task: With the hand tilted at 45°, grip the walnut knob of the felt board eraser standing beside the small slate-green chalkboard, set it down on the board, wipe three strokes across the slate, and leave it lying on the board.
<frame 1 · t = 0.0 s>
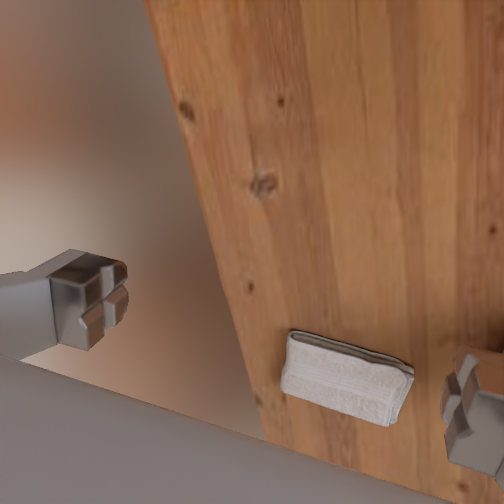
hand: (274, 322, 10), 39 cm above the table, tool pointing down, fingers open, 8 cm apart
washcloth: (343, 371, 61), on the table
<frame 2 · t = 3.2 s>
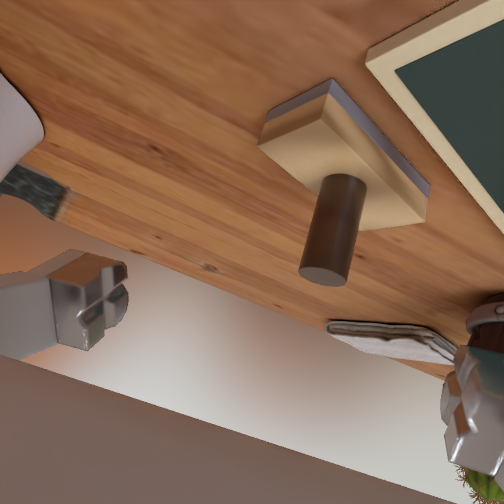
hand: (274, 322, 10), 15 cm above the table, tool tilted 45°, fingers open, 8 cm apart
eraser: (353, 149, 27), on the table
washcloth: (392, 332, 65), on the table
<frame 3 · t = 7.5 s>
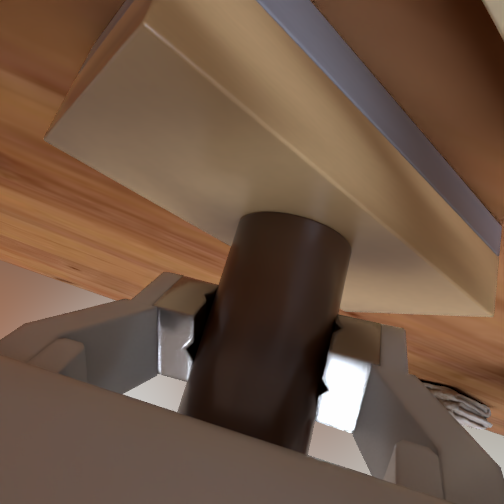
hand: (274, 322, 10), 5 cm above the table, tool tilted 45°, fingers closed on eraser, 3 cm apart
eraser: (319, 144, 11), on the table, touching gripper
washcloth: (400, 382, 50), on the table
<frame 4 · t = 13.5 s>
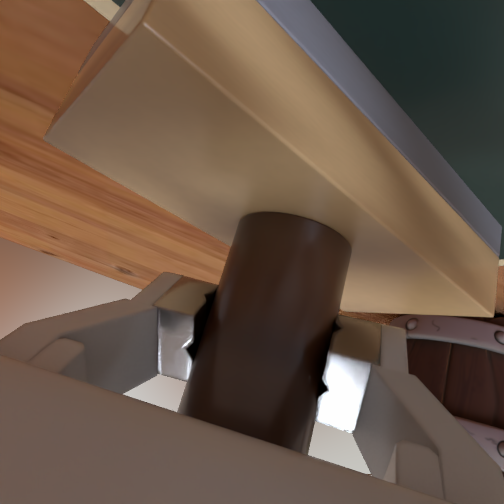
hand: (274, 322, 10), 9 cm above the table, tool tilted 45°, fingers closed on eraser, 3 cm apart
eraser: (319, 144, 11), point 4 cm above the table, touching gripper
flowerpot: (463, 320, 34), on the table
chalkboard: (477, 92, 13), on the table
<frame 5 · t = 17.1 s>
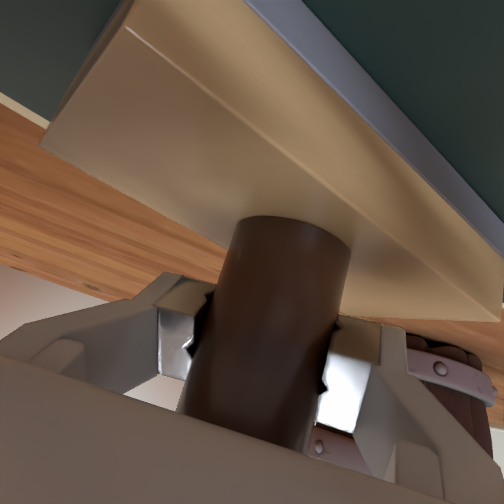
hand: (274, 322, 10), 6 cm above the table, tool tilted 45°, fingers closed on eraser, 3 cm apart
eraser: (318, 147, 11), point 1 cm above the table, touching gripper
flowerpot: (413, 345, 34), on the table
chalkboard: (338, 155, 13), on the table
when the fingers open (6 cm above the table, at t = 19.6 s): eraser stays where it is, resting on chalkboard.
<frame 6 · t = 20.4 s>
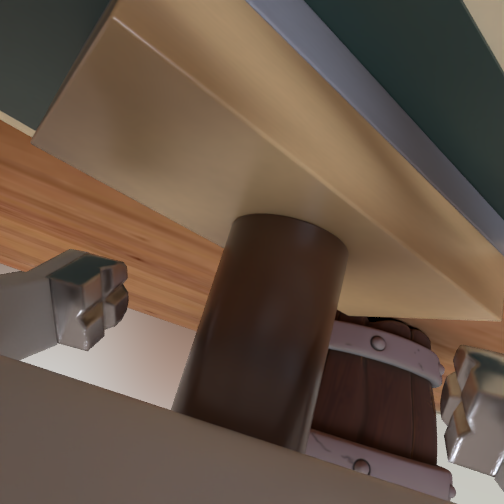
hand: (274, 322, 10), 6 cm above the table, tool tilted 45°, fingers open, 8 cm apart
eraser: (316, 144, 11), point 1 cm above the table, touching chalkboard
flowerpot: (361, 322, 32), on the table
chalkboard: (168, 49, 10), on the table
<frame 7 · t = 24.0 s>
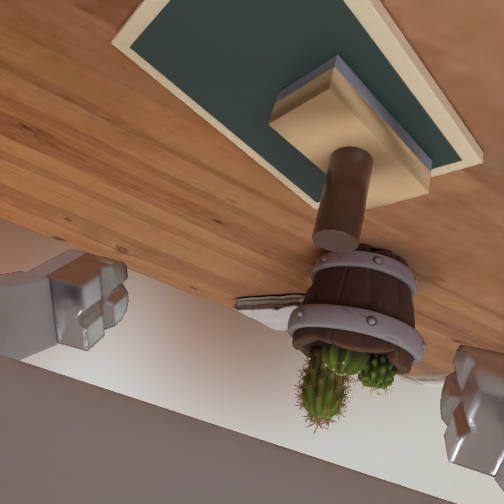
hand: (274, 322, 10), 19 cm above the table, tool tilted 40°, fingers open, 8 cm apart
eraser: (358, 128, 28), point 1 cm above the table, touching chalkboard
washcloth: (291, 306, 73), on the table
flowerpot: (365, 261, 49), on the table
chalkboard: (303, 93, 28), on the table
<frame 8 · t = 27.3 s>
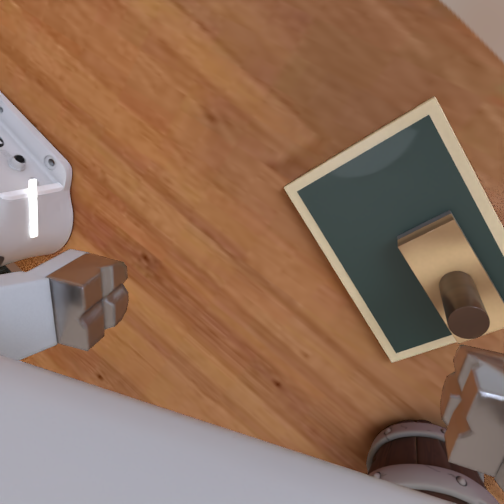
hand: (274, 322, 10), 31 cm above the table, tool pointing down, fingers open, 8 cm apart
eraser: (452, 271, 38), point 1 cm above the table, touching chalkboard
flowerpot: (420, 450, 48), on the table
chalkboard: (410, 244, 39), on the table
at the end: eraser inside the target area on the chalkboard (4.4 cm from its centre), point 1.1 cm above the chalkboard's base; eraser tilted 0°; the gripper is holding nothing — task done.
